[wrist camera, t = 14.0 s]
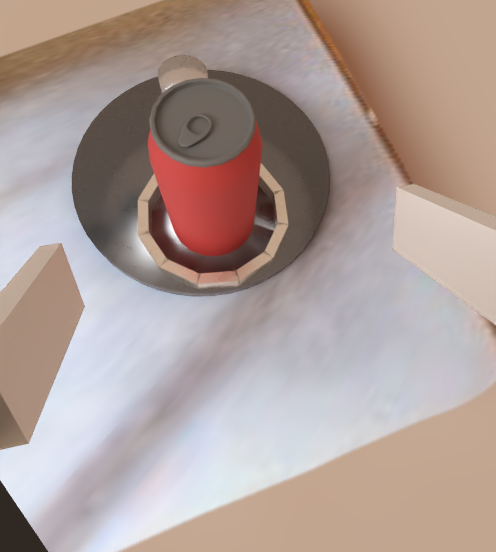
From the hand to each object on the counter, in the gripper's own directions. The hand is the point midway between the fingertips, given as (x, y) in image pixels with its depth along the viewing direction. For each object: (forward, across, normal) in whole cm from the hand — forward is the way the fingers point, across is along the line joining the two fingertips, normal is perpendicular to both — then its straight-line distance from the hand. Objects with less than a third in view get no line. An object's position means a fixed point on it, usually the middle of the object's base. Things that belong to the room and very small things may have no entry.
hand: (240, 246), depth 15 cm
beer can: (+16, 0, -4) cm, 17 cm away
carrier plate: (+21, 0, -2) cm, 21 cm away
